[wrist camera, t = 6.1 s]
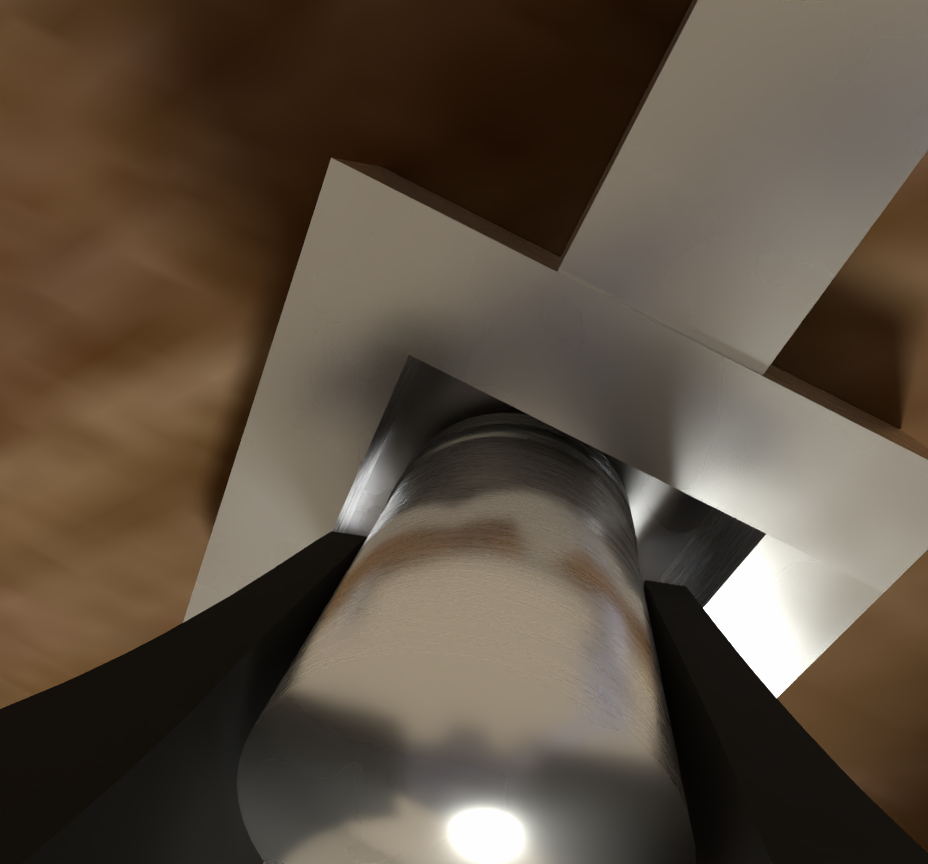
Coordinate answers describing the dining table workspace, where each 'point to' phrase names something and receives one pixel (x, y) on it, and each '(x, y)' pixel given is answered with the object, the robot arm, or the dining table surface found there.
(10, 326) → the dining table surface
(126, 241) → the dining table surface
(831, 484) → the grey piece
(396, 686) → the shiny metal cylinder
